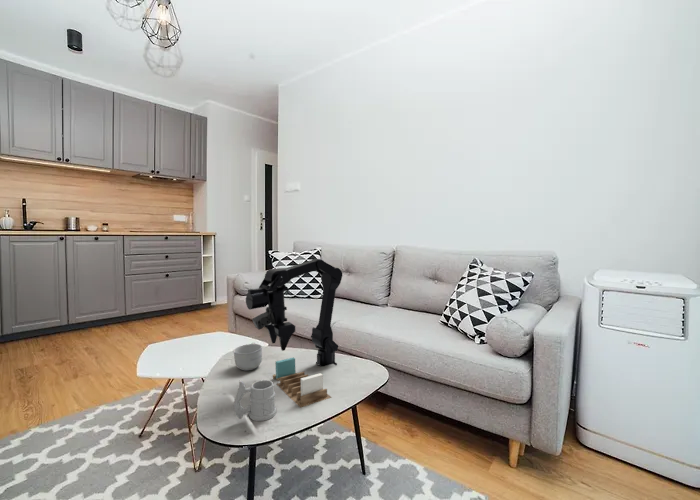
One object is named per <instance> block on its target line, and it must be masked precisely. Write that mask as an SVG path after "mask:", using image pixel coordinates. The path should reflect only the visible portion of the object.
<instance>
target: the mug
mask: <svg viewBox="0 0 700 500" xmlns="http://www.w3.org/2000/svg"><path fill="white" fill-rule="evenodd" d="M238 383H239V385H238V387H237V391H236V394H235V397H234V400H233V402H232V403H233V409H234V410H233V411H234V415H235V416H237V418H238V419H239V420H241V419H242V418H243V416H245V415H247V413H248V417H249V419H251V421H255V422H256V421H257V422H263V421H267V420H270V419H272V418H274V416H276V414H277V408H276V405H275V404H276V402H275V397H276V391H275V388H274V387H275V385H274V382H273V381H272V380H270V379H269V380H268V379H263V380H262V379H261V380H257V381H255V382H253V383H252V384H250V386H249V387H246V383H245V382H244V381H243V380H241V379H240V380H239V381H238ZM247 393H249V397H248V398H249V400H250V404H248V405H246V406H245V407H243V406H242V405H241V400H242V398H243V396H244V395H245V394H247Z"/></svg>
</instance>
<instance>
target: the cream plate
mask: <svg viewBox="0 0 700 500" xmlns="http://www.w3.org/2000/svg"><path fill="white" fill-rule="evenodd" d="M323 376H324V375H323V374H322V373H321V372H319V373H316V374H311V375H308V377H304V378H301V396H303V395H306V394H310V393H313V392H316V391H319V390H323V389H324V377H323Z"/></svg>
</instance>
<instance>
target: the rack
mask: <svg viewBox="0 0 700 500" xmlns="http://www.w3.org/2000/svg"><path fill="white" fill-rule="evenodd" d="M295 373H296V374H293V375H289V376H285V377H281V378H280V380H279V382H278V383H276V386H278V388H280V389H281V390H282V392H284V393H285V394H286V395H287V396H288V398H290V399H291V401H293V402H294V403H295V404H296V405H297V406H298V407H299V408H301V409H302V408H303V407H307V406H310V405H313V404H317V403H319V402H322V401H325V400H328V399H332V398H333V397H332V396H331V395H330V394H328V388H323V390H319V391H316V392H313V393H310V394H306V395H303V396H301V378H304V377H308V376H309V374H308V373H307V374H305V373H306V372H305V371H300V372H295Z"/></svg>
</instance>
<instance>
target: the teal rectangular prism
mask: <svg viewBox="0 0 700 500" xmlns="http://www.w3.org/2000/svg"><path fill="white" fill-rule="evenodd" d="M295 373H296V358H295V357H290V358H286V359H281V360H276V361H275V374H276V378H280V377H284V376H288V375H292V374H295Z"/></svg>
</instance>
